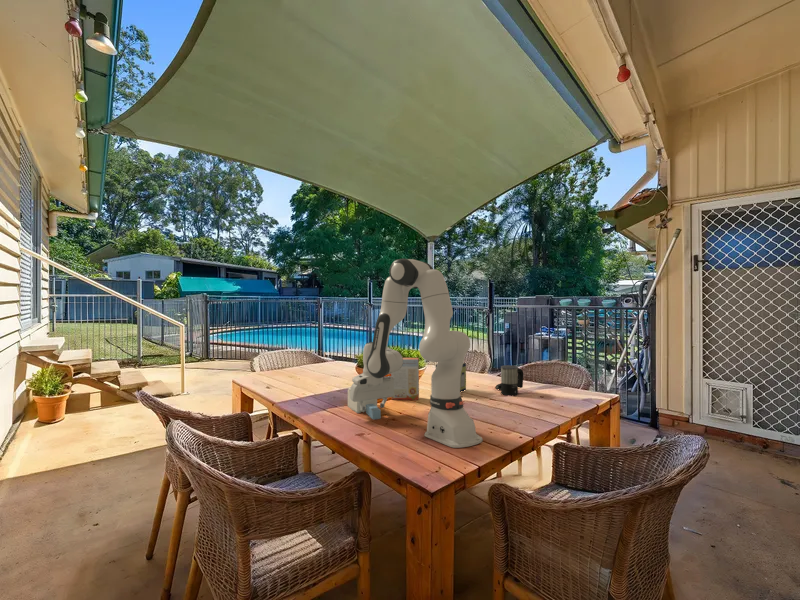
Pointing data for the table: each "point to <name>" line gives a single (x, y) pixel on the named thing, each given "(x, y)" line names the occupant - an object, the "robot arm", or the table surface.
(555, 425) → the table surface
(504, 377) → the milk frother
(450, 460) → the table surface
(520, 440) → the table surface
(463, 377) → the protein box
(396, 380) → the cracker box
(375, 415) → the blue-gray rectangular block
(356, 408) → the carton
